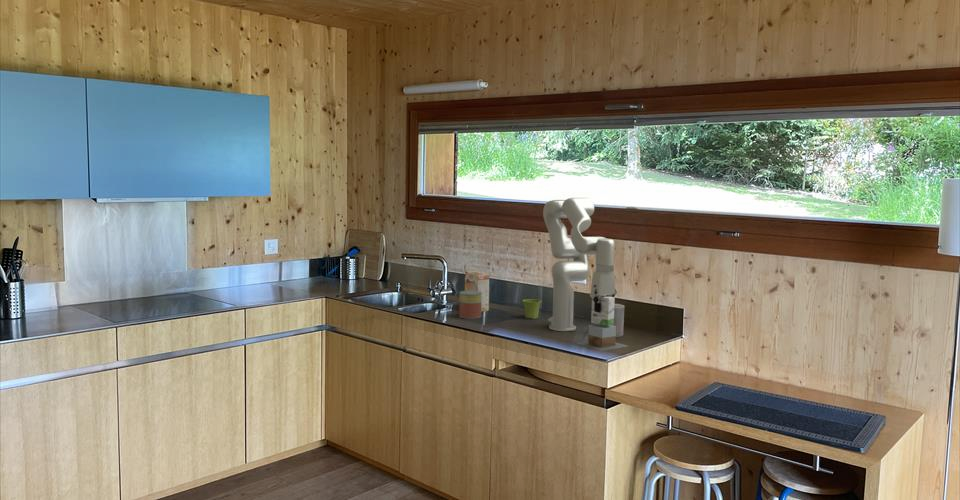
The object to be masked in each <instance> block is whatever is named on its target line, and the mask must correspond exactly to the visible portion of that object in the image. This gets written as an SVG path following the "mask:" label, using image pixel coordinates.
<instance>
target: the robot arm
mask: <svg viewBox="0 0 960 500" xmlns="http://www.w3.org/2000/svg"><path fill="white" fill-rule="evenodd" d="M594 212H595V204H594V202H593V200H591V198H588V197H570V198H566V199H553V200H549V201H547V202H545V204H544V206H543V210H542V213H543V214H542V215H543V220H544V223H545V226H546V229H547V231H548V238H549V243H550V244H549V245H550V250H551V253H552V256H553V257H554V258H555V259H559V261H557V262H555V263H554V264H553V265H552V267H551V277H552V285H553V286H552V287H553V288H552V291H553V292H552V316H551V317H550V318H548V319H547V321H548V322H550V324H549V325H548V329H549V330H552V331H557V332H572V331H576V330H577V326H576V325H574V300H575V292H574V288H573V286H572V285H571V282H583V281H585V280H587V279H588V277H589V276H590V275H589V274H590V269H589V261H588V255H595V268H594V269H595V271H593V273H592V280H591V285H590V286H591V287H590V293H589V297H590V298H591V300H592V299H593V302H595V304H594V311H595V312H599V313H600V312H601V303H600V300H601V297H602V296H609V297H615V296H616V295H617V293H618V291H617V290H616V278H615V277H616V276H615V271H614V269H615V249H616V246H615V245H616V244H615V240H614V239H611V238H606V237H604V236H583V235H582V233H583V232H585V231H586V230H588V229H589V228H590V226H591V224H592V219H591V216H592V215H594ZM561 219H568V221H569V223H570V225H571V226H572V227H571V230H570V236H568V229H567V227H566V225H565V224H564V223H563V222H562V221H561ZM565 259H566V260H565ZM567 259H572V260H567ZM560 260H561V261H560ZM597 297H598V299H597Z"/></svg>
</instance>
